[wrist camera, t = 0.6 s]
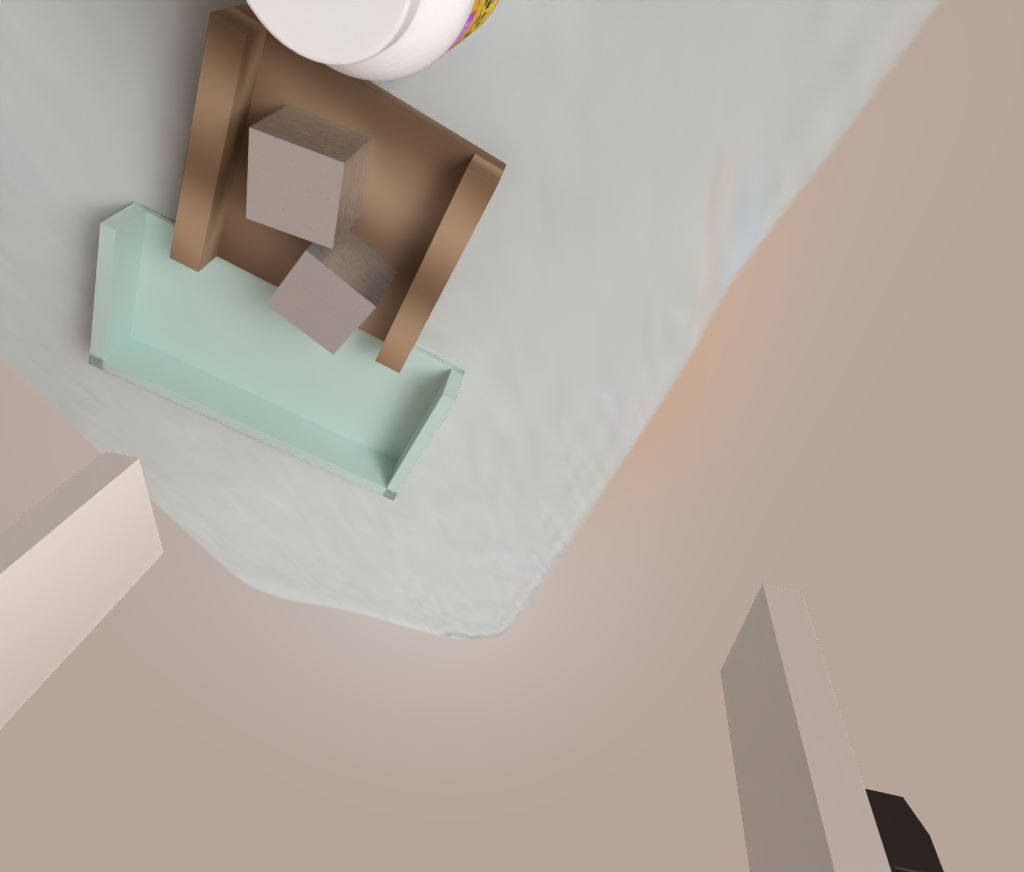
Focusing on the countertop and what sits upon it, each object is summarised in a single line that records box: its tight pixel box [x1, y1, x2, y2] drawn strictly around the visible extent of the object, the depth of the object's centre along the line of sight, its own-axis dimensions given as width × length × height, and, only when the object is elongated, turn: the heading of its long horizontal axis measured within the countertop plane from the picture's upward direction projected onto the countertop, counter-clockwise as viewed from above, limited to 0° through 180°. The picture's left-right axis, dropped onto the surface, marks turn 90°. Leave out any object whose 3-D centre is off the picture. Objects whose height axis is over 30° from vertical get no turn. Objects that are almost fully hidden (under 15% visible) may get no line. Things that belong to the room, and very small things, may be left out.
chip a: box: [246, 105, 373, 249], centre depth 28 cm, size 4×4×4 cm
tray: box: [89, 202, 464, 500], centre depth 38 cm, size 10×20×3 cm, turn 62°
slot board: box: [169, 5, 506, 373], centre depth 31 cm, size 12×13×3 cm
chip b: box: [266, 230, 398, 355], centre depth 32 cm, size 4×4×4 cm
